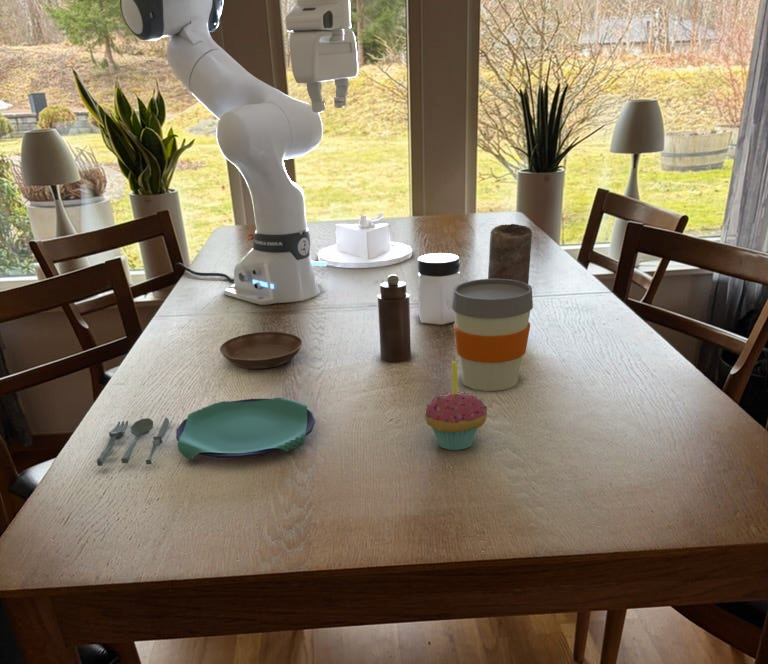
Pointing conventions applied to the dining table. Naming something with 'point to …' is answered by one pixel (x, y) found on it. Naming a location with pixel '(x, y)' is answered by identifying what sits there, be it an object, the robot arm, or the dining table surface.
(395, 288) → the pepper mill
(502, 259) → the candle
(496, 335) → the reusable coffee cup
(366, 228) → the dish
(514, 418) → the dining table surface
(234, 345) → the saucer
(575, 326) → the dining table surface
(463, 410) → the cupcake
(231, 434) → the cutlery set
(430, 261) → the jar
